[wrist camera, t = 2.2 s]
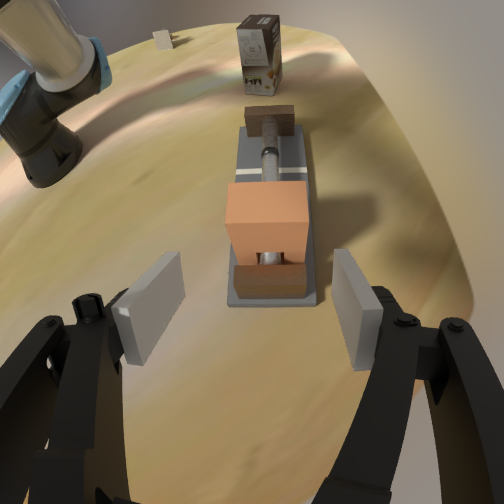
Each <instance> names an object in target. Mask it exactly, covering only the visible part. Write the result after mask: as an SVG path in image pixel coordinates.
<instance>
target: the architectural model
mask: <svg viewBox="0 0 504 504" xmlns="http://www.w3.org/2000/svg"><path fill="white" fill-rule="evenodd" d="M153 36H154V40H155V43H156V46H157V50H168V49H173V45H172V42H171V41H175V40H176V39H177V38H179V37H180V36H172V34H169V31H168V30H166V31H164V30H162V31H158V32H153Z"/></svg>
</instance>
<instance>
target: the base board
mask: <svg viewBox="0 0 504 504" xmlns="http://www.w3.org/2000/svg"><path fill="white" fill-rule="evenodd" d="M278 151H279V181H306V189H307V200H308V213H309V228H308V236H307V244H306V252H305V260H304V264H306V274H307V287H306V292H305V297H304V299H239V298H238V295H237V293H236V291H235V289H234V286H233V278H234V265H239V264H238V261H237V258H236V255H235V252H234V249H233V246H232V243H231V249H230V264H229V280H228V296H227V305H228V306H229V307H315V306H316V281H315V263H314V247H313V233H312V220H311V207H310V196H309V185H308V175H307V165H306V156H305V147H304V139H303V130H302V125H294V136H278ZM261 152H262V137H248V136H247V130H246V127H240V132H239V144H238V155H237V168H236V180H235V183H240V182H262V159H261Z"/></svg>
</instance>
